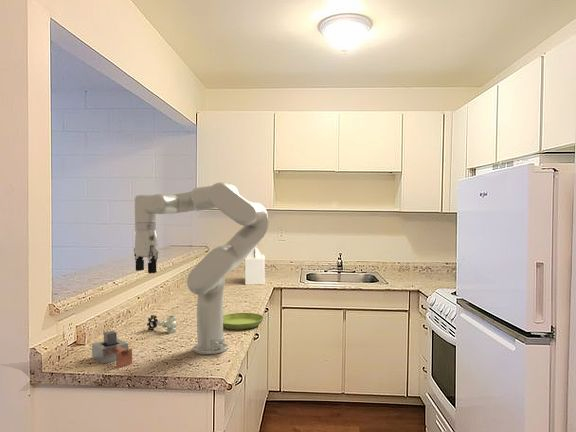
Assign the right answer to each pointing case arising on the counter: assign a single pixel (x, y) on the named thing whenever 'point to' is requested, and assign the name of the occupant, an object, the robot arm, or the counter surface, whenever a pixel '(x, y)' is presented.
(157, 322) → the valve
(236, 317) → the saucer
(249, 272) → the gable box
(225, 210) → the robot arm
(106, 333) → the square peg
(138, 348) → the counter surface
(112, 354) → the square sleeve with handle
